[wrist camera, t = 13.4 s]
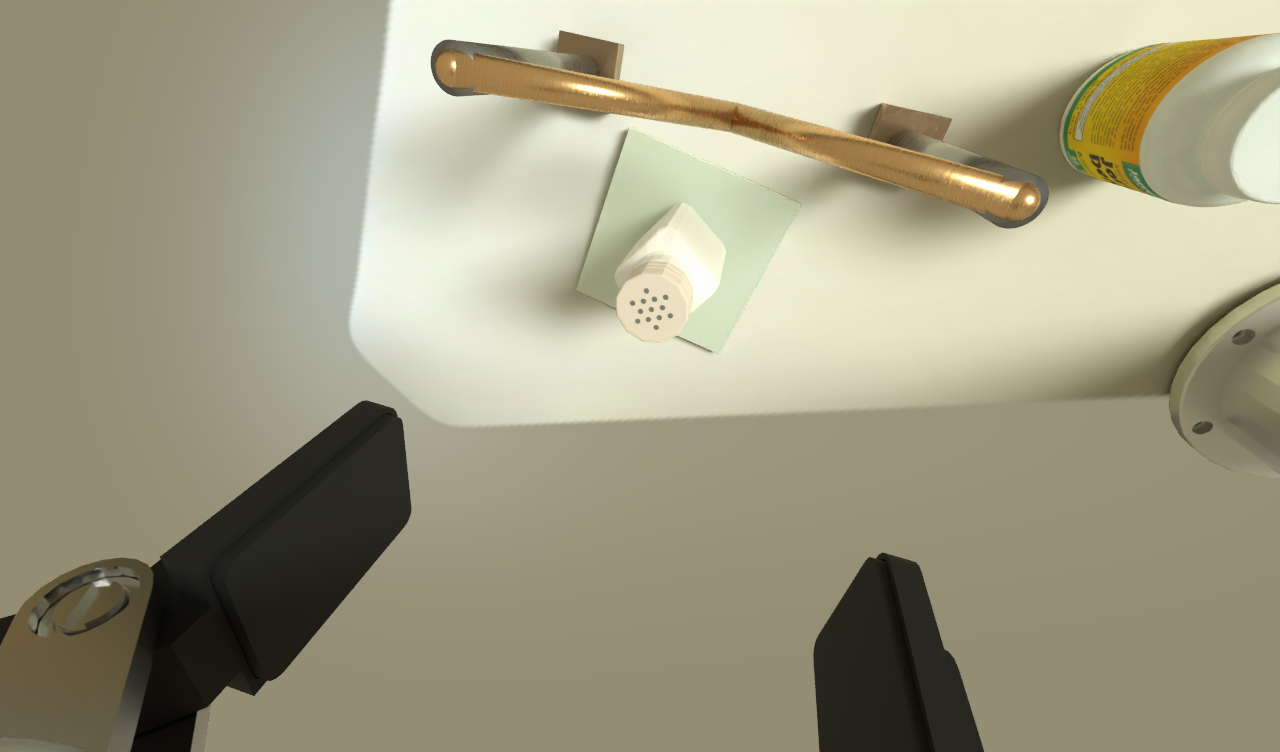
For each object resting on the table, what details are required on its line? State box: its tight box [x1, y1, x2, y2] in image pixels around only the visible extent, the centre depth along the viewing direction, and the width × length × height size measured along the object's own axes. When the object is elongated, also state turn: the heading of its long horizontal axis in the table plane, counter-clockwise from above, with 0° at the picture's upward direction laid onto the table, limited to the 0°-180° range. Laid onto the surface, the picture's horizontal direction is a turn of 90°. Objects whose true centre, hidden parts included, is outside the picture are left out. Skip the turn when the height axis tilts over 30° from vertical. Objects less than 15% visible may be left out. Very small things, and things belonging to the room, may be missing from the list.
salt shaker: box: [614, 202, 726, 343], centre depth 25 cm, size 4×4×10 cm
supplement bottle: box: [1060, 33, 1280, 207], centre depth 19 cm, size 5×5×10 cm
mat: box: [576, 127, 801, 354], centre depth 30 cm, size 10×10×1 cm
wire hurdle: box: [431, 31, 1048, 228], centre depth 20 cm, size 19×3×14 cm, turn 79°
